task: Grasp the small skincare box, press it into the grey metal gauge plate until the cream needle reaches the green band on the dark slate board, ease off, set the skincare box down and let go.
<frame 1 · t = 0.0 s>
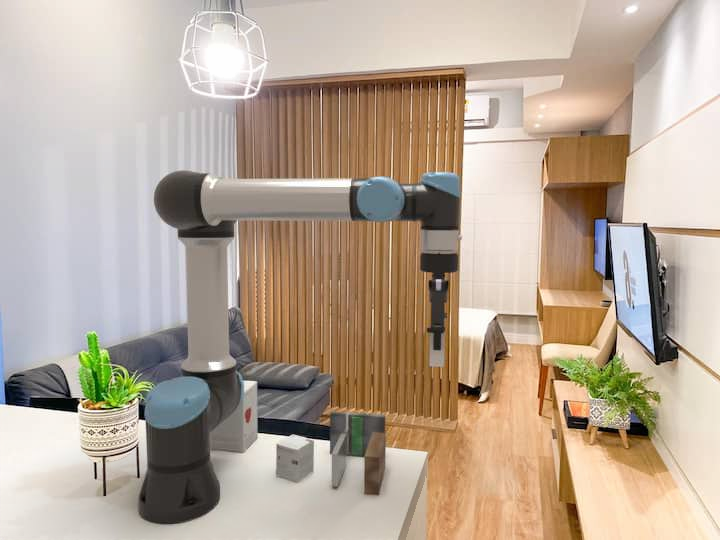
hand: (436, 356, 104), 28 cm above the table, tool pointing down, fingers open, 13 cm apart
skincare box: (295, 474, 113), on the table
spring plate: (341, 447, 114), point 6 cm above the table, slide at 0.0 cm
supplement box: (234, 444, 128), on the table
gauge housing: (335, 476, 112), on the table
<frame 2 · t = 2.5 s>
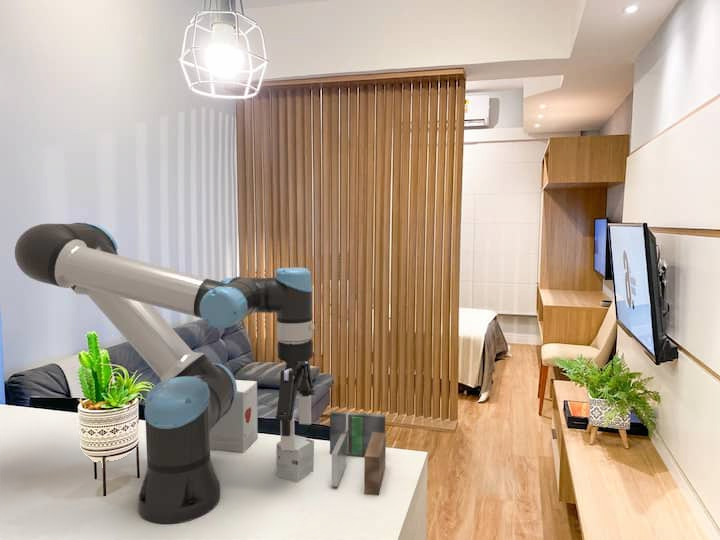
hand: (297, 435, 112), 8 cm above the table, tool pointing down, fingers open, 13 cm apart
nothing on the table moved.
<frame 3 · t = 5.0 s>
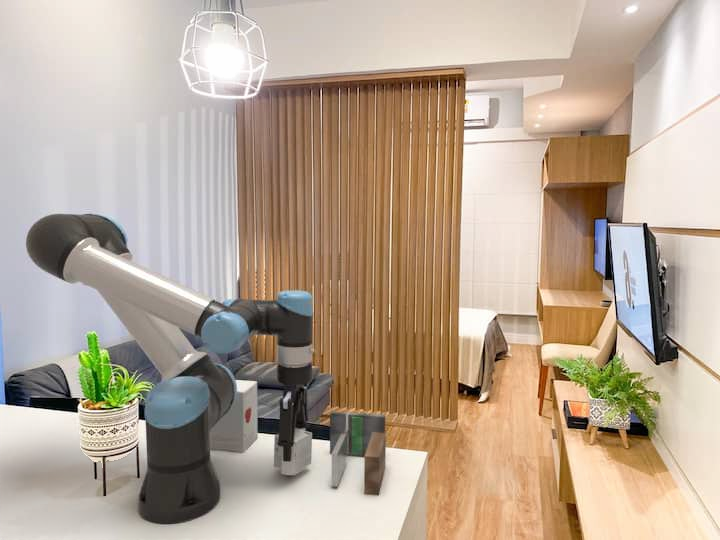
hand: (293, 464, 113), 2 cm above the table, tool pointing down, fingers closed on skincare box, 7 cm apart
skincare box: (293, 466, 113), point 1 cm above the table, touching gripper
everything else where it was.
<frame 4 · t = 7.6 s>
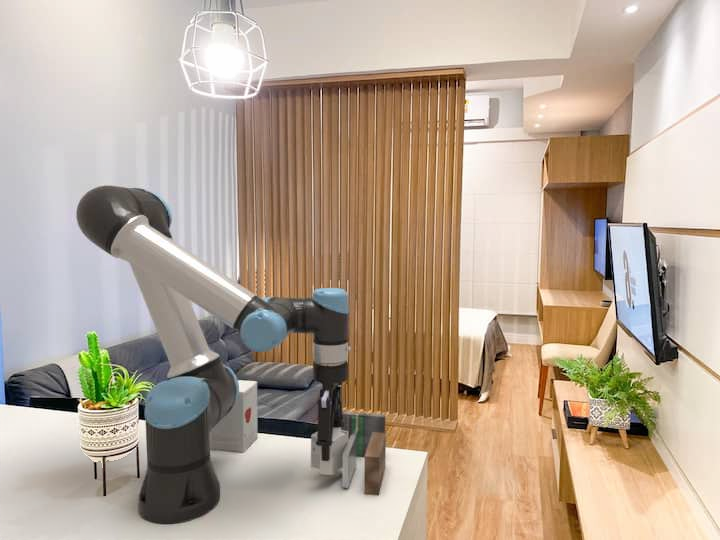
hand: (330, 464, 112), 3 cm above the table, tool pointing down, fingers closed on skincare box, 7 cm apart
skincare box: (329, 466, 112), point 2 cm above the table, touching gripper, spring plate
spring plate: (351, 448, 113), point 6 cm above the table, slide at 2.3 cm, touching skincare box
everything else where it was.
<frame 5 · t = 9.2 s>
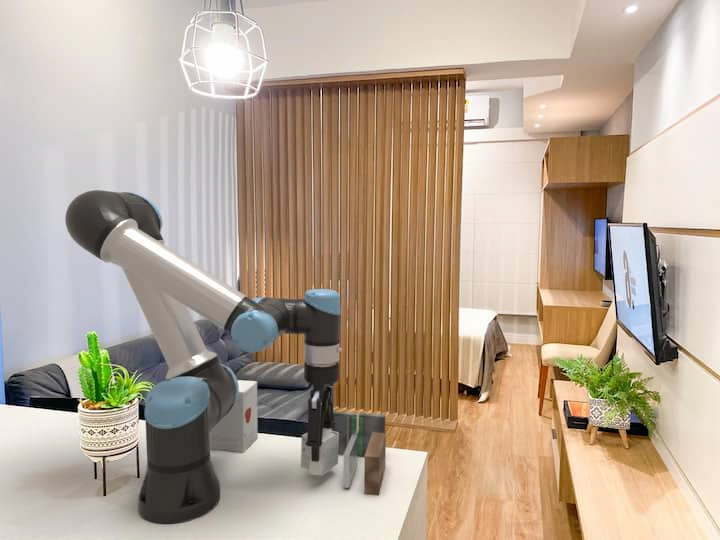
hand: (320, 464, 112), 2 cm above the table, tool pointing down, fingers closed on skincare box, 7 cm apart
skincare box: (319, 466, 112), point 2 cm above the table, touching gripper
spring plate: (352, 448, 113), point 6 cm above the table, slide at 2.5 cm
everything else where it was.
when the fingers open (1 cm above the table, at t = 10.4 s): skincare box stays where it is, on the table.
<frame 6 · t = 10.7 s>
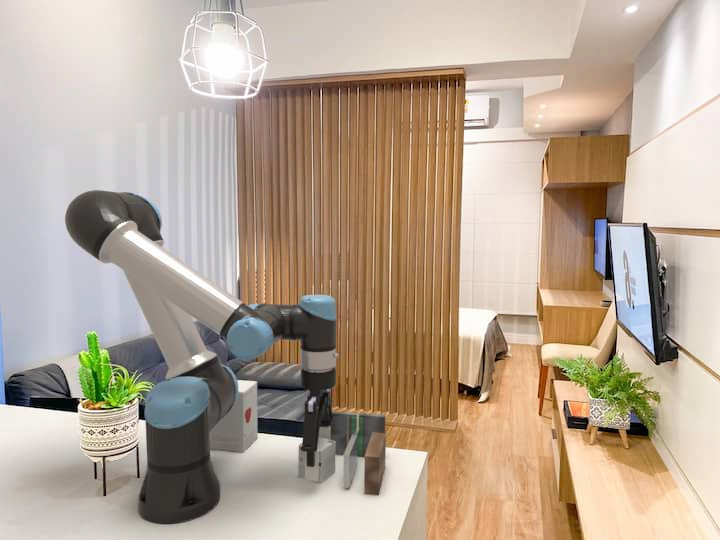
hand: (318, 466, 112), 2 cm above the table, tool pointing down, fingers open, 11 cm apart
skincare box: (317, 476, 113), on the table
everything else where it was.
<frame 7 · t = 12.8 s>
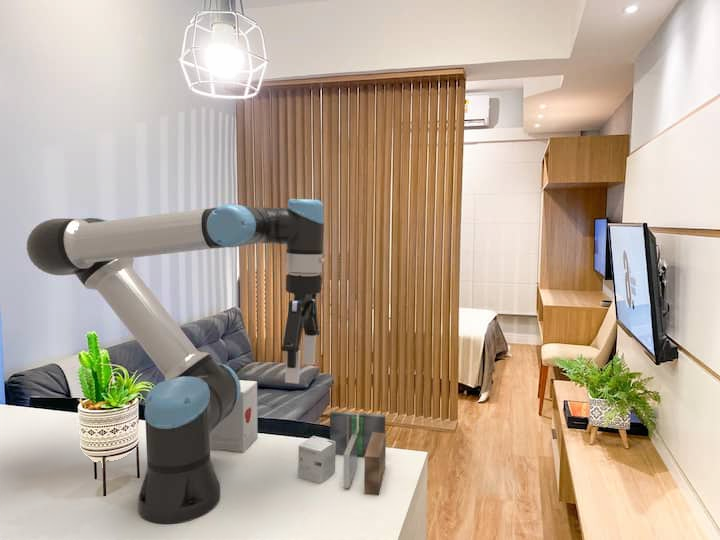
hand: (300, 372, 110), 23 cm above the table, tool pointing down, fingers open, 13 cm apart
nothing on the table moved.
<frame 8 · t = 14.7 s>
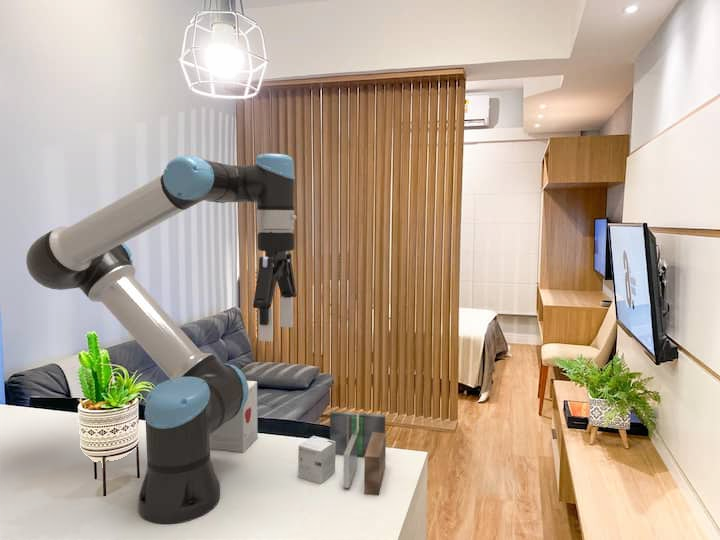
hand: (276, 333, 108), 32 cm above the table, tool pointing down, fingers open, 13 cm apart
nothing on the table moved.
at the end: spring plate slide at 2.5 cm; skincare box 0.4 cm from the target spot, on the table; skincare box tilted 0° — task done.
